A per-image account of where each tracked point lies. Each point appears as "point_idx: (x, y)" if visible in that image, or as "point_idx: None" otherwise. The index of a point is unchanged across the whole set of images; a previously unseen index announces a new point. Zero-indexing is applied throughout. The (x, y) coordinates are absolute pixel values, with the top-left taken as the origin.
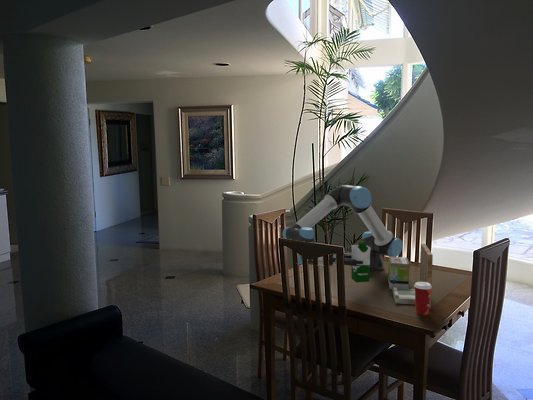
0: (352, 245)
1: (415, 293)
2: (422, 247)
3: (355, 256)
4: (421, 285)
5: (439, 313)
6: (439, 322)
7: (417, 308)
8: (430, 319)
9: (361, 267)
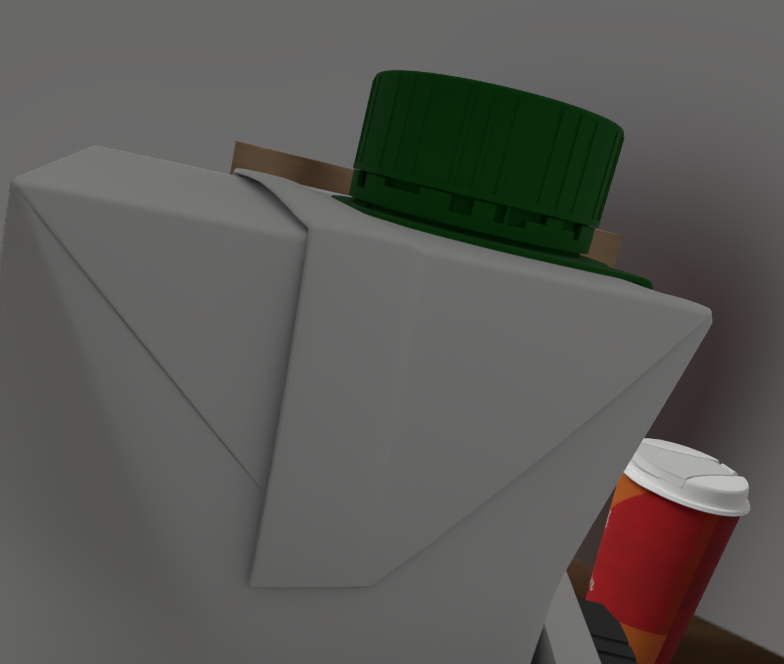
0: (120, 192)
1: (696, 560)
2: (330, 178)
3: (540, 622)
4: (736, 479)
5: (578, 583)
6: (726, 631)
7: (670, 652)
8: (708, 654)
9: None
